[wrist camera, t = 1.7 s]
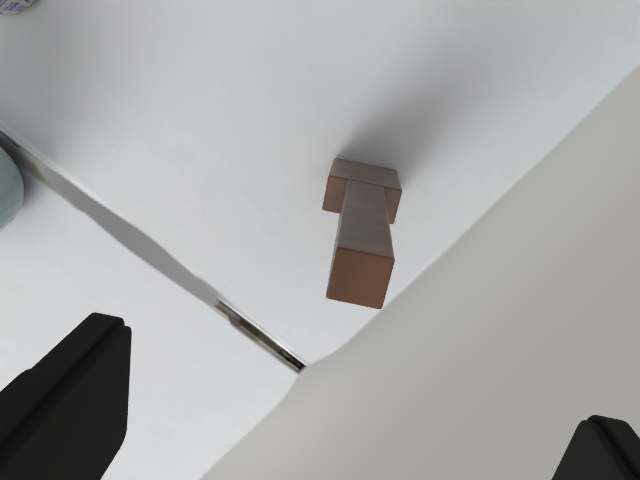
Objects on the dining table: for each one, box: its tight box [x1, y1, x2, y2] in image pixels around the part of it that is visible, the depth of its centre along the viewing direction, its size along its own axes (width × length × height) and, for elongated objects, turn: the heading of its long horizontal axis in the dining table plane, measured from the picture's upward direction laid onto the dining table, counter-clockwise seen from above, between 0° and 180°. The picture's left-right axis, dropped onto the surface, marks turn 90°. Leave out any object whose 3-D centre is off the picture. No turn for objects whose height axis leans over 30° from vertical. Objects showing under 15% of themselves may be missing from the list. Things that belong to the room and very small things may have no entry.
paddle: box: [322, 158, 402, 309], centre depth 23 cm, size 4×2×15 cm, turn 80°
